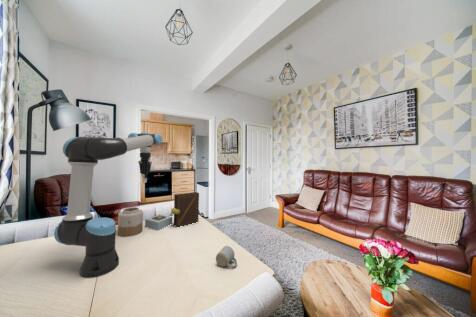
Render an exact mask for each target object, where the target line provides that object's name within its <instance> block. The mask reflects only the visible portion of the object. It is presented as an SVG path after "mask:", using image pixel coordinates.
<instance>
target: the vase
mask: <svg viewBox="0 0 476 317" xmlns="http://www.w3.org/2000/svg"><path fill="white" fill-rule="evenodd" d="M117 217H118V218H117V235H118V236H119V237H126V238H127V237H132V236H136V235H139V234H140V233H141V232H143V226H144V223H143V222H144V211H143V209H140V208H139V207H136V206H132V207H127V208H123V209H122V211H120V212H118V215H117Z"/></svg>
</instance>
